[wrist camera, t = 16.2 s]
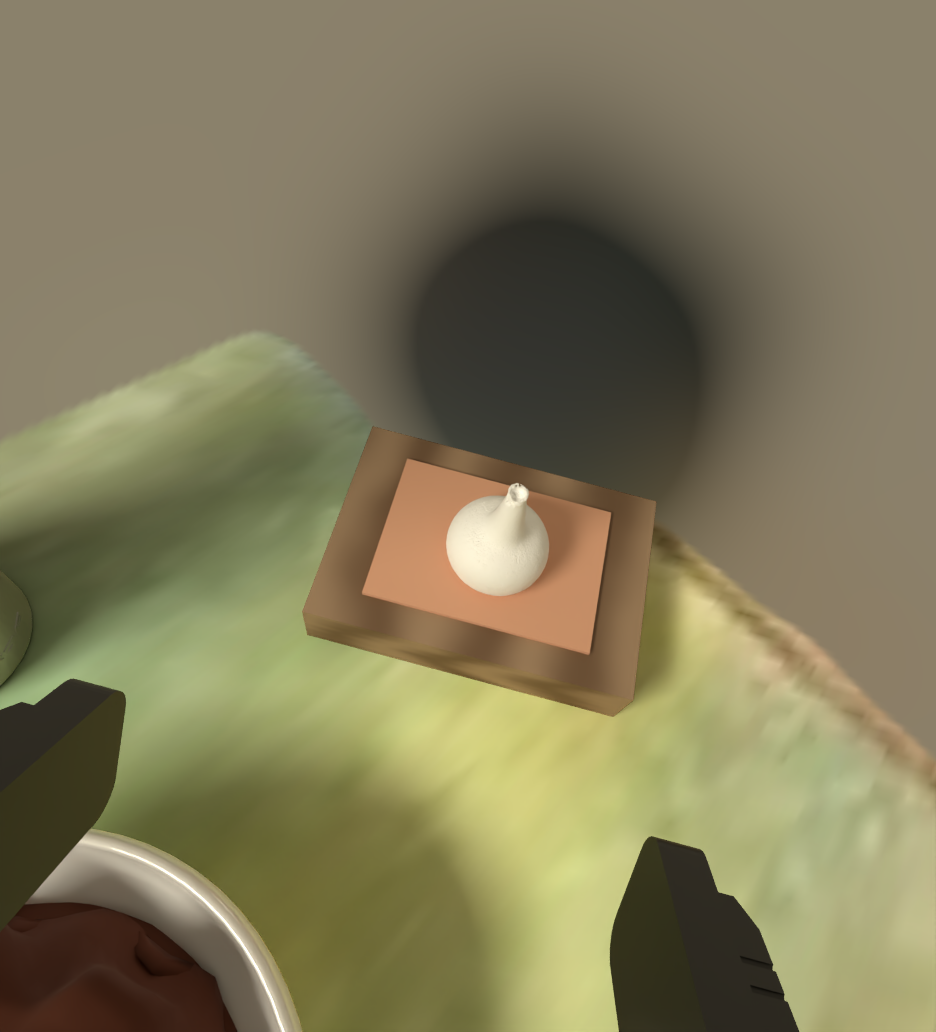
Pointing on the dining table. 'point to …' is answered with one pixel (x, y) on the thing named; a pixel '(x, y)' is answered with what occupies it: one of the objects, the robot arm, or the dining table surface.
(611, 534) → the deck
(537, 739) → the dining table surface
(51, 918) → the bowl of brown food
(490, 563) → the garlic bulb
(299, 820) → the dining table surface
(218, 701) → the dining table surface
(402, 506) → the mat
